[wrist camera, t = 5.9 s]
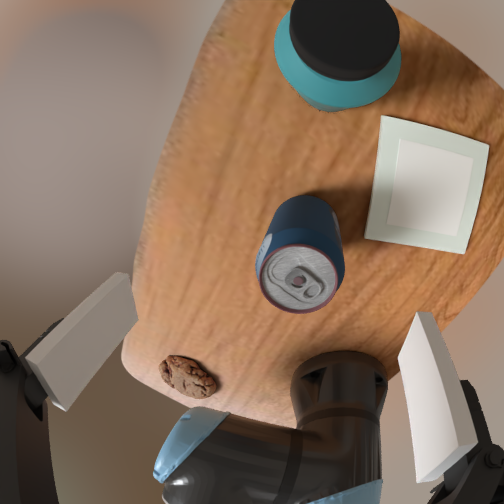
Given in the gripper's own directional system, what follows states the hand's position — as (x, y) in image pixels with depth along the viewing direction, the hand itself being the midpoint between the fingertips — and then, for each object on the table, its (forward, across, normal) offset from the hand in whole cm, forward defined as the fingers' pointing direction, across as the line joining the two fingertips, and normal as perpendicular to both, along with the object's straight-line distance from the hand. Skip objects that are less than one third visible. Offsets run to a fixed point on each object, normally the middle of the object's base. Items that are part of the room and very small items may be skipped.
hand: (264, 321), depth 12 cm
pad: (+20, -14, -3) cm, 25 cm away
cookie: (+22, +15, +32) cm, 42 cm away
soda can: (+20, -1, +2) cm, 21 cm away
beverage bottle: (+20, -2, -12) cm, 24 cm away
